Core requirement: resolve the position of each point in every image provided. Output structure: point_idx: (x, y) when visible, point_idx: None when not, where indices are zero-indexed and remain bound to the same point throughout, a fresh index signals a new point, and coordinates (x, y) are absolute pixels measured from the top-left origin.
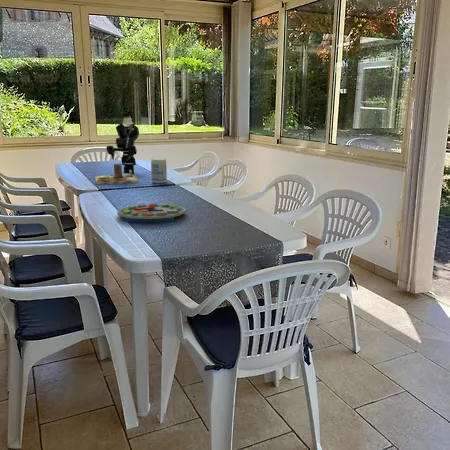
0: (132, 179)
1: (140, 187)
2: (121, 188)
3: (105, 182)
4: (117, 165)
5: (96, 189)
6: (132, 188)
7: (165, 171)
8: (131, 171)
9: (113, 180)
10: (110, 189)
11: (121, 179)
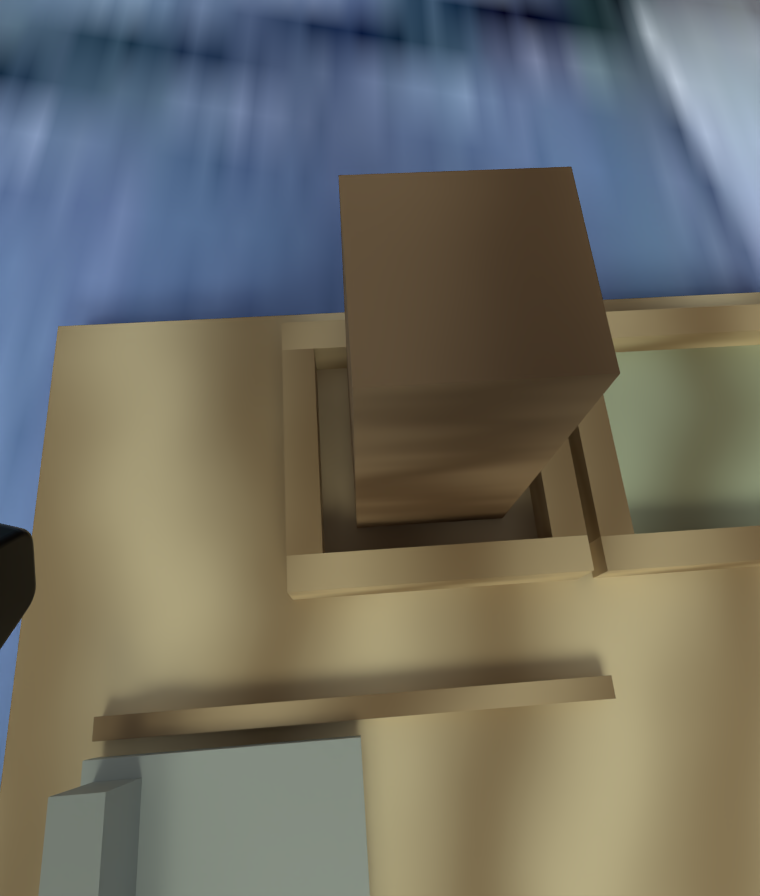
0: (154, 417)
1: (119, 45)
2: (364, 37)
3: (629, 305)
4: (463, 181)
5: (666, 40)
6: (228, 16)
7: None
8: (60, 795)
9: None
10: (495, 14)
11: None
